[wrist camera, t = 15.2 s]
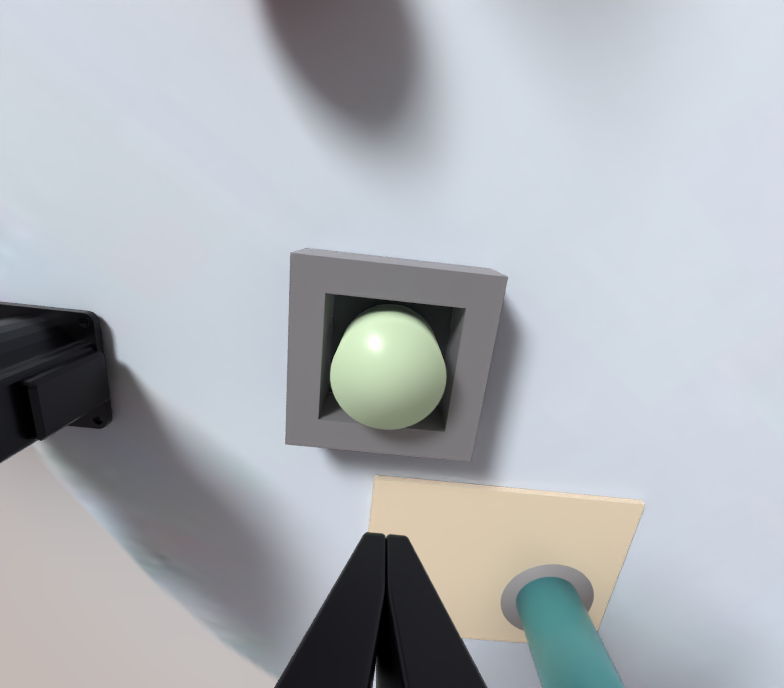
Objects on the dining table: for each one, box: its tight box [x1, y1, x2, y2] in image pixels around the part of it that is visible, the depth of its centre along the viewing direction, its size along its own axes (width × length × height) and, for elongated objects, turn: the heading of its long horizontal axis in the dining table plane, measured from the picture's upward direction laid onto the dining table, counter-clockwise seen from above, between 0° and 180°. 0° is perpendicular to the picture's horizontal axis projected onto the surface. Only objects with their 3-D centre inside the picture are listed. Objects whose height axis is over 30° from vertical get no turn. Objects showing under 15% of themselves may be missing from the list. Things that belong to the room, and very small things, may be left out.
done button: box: [330, 304, 446, 430], centre depth 17 cm, size 5×5×4 cm
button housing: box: [285, 248, 508, 462], centre depth 18 cm, size 9×9×3 cm
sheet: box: [368, 475, 645, 643], centre depth 24 cm, size 16×12×1 cm
